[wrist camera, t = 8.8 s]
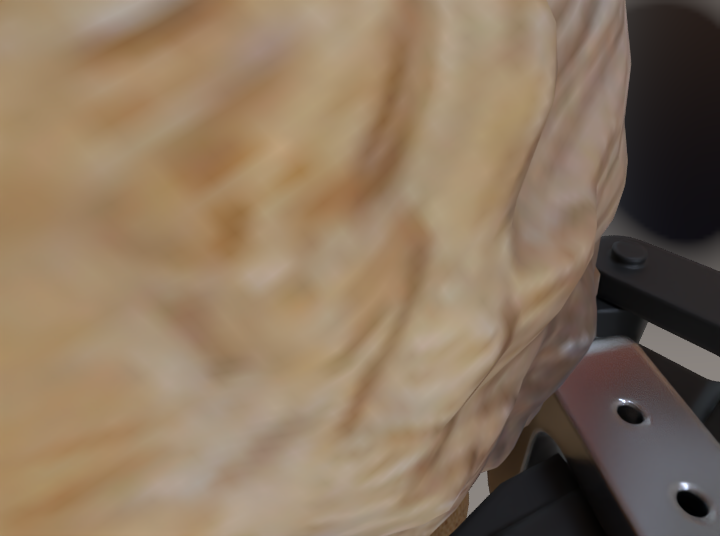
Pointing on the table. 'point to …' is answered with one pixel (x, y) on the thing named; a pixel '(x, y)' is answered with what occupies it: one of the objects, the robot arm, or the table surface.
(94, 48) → the lion figurine
